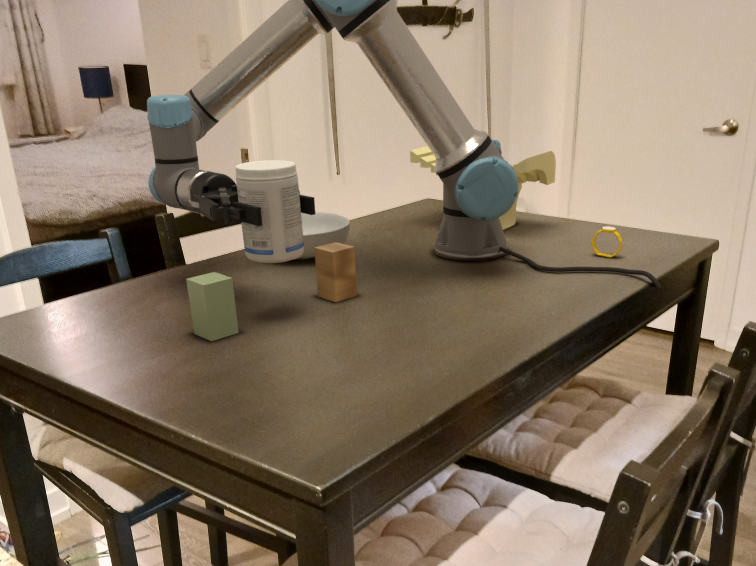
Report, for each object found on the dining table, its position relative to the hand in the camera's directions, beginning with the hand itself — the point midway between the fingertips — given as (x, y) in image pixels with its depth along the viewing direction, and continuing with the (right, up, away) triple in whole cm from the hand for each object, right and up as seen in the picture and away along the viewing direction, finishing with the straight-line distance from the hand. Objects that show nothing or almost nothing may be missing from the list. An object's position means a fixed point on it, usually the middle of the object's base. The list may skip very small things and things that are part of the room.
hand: (287, 211), depth 118 cm
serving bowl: (-4, +1, +45) cm, 46 cm away
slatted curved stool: (+36, +11, +67) cm, 77 cm away
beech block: (+6, -11, +18) cm, 22 cm away
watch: (+59, -1, +39) cm, 71 cm away
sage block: (-12, -19, +2) cm, 22 cm away
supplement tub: (-3, -6, +6) cm, 9 cm away
